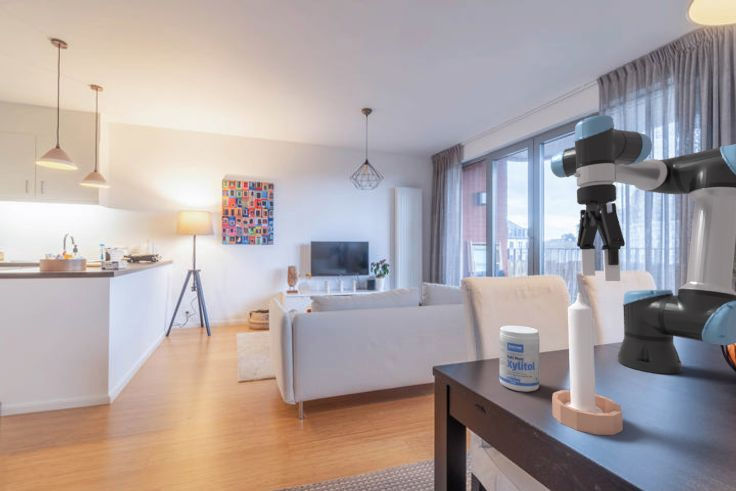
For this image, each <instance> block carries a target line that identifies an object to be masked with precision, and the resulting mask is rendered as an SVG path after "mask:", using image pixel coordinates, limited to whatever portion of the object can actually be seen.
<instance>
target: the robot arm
mask: <svg viewBox="0 0 736 491" xmlns="http://www.w3.org/2000/svg"><path fill="white" fill-rule="evenodd" d="M573 141H574V146H573V147H569V148H565V149H563V150H560V151H558V152H556V153H554V154H553V155H552V157H551V159H550V170H551V172H552V174H553V175H554V176H555V177H557V178H570V177H574V178H576V186H577V187H578V188H577V190H576V202H577V204H579V205H585V209H581V210H580V212H579V213H580V215H579V216H580V219H579V226H578V227H579V228H578V234H577V242H576V245H577V247H578V248H579V249H580V266H581V276H582V277H583V276H585V277H587V276H589V277H590V276H591V277H592V276H593V277H594V276H596V266H595V264H596V263H595V260H596V259H595V249H596V246H595V245H594V242H595V239H596V235H597V232H598V233H599V237H600V238H601V241H602V244H603V245H602V247H601V251H602V255H603V256H602V260H603V266H602V267H603V281H604V282H620V281H621V269H620V268H621V264H620V250H621V248H622V247H625V239H624V235H623V232H622V228H621V224H620V220H619V217H618V213H617V204H616V203H615V202H616V201H617V186H616V185H615V184H614V183H619V184H622V185H623V184H624V185H628V186H629V185H630V186H634V187H635V188H636V189H638V190H640V191H645V192H650V193H656V194H664V195H665V194H666V195H687V194H688V198H690V199H691V200H692V201H694V206H693V207H694V209H693V216H692V217H693V218H692V226H691V228H692V229H691V238H690V246H689V247H690V248H689V255H688V256H689V257H688V265H687V266H688V268H687V275H686V283H685V284H683V285H682V286H679V288H678V290H677V291H678V292H677V295H674V292H673V290H672V289H647V290H646V289H642V290H640V289H639V290H628V291H626V292H625V293H624V295H623V304H622V307H623V332H624V333H623V336H624V337H623V339H622V342H621V345H620V348H619V351H618V352H617V362H618V363H619V364H621V365H623V366H626V367H628V368H631V369H635V370H638V371H643V372H647V373H655V374H666V375H667V374H669V375H670V374H673V375H674V374H680V373H682V372H683V364H682V361H681V359H680V356H679V354H678V351H677V349H676V346H675V344H674V337H677V338H682V339H687V340H691V341H692V340H693V341H695V342H696V341H697V342H703V343H704V344H705V343H706V344H709V345H713V344H715V345H721V346H732V345H734V344H736V291H735V290H733V288H732V280H733V272H734V258H735V248H736V143H735V144H729V145H721V146H720V147H715V148H711V149H706V150H702V151H697V152H693V153H687V154H685V155H684V154H682V155H678V156H674V157H670V158H666V159H657V158H656V159H655V158H650V159H647V158H648V157H649V156H650V154H651V153H652V149H653V143H652V140H651V138H650V137H649V136H648V135H646V134H645V133H641V132H638V131H635V130H634V131H633V130H632V131H631V130H622V129H617V128H615V123H614V119H613V117H612V116H611V115H606V114H600V115H594V116H590V117H589V116H588V117H586V118H584V119H581V120H580V121H579V122H577V123H576V125H575V127H574V140H573Z"/></svg>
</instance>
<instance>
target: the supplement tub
mask: <svg viewBox="0 0 736 491" xmlns="http://www.w3.org/2000/svg"><path fill="white" fill-rule="evenodd" d="M499 329H500V330H499V367H498V368H499V373H498V375H499V377H498V378H499V379H498V380H499V382H500V384H501V385H502V386H503V387H505V388H507V389H510V390H513V391H517V392H528V393H529V392H534V391H537V390H538V389H539V387H540V332H539V330H538V329H537V328H532V327H530V326H529V327H528V326H523V325H503V326H501V327H500V328H499Z"/></svg>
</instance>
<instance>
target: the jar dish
mask: <svg viewBox="0 0 736 491" xmlns="http://www.w3.org/2000/svg"><path fill="white" fill-rule="evenodd" d="M551 398H552V399H551V400H552V401H551V402H552V403H551V407H552V408H551V409H552V410H551V412H552V414H551V415H552V416H553V417H554V419H556V421H558V422H559V423H560V424H561V425H564V426H567V427H568V428H571V429H574V430H575V431H579V432H582V433H588V434H592V435H593V434H594V435H597V436H598V435H599V436H601V435H603V436H604V435H606V436H615V435H616V434H619V433H620V432H623V431H624V430H623V429H624V428H623V424H624V422H623V410H622V406H621V405H620V404H618V402H615V401H613V400H612V399H611V398H609V397H605V396H603V395H599V394H596V393H595V398H596V407H598V408H600V409H601V410H602V411H603V413H592V412H587V411H582V410H577V409H575V408H572V407H570V406H567V405H565V403H567V402H571V397H570V389H566V390H565V389H561V390H558V391H555V392H553V393H552V396H551Z"/></svg>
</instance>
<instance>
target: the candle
mask: <svg viewBox="0 0 736 491" xmlns="http://www.w3.org/2000/svg"><path fill="white" fill-rule="evenodd" d="M593 317H594V316H593V308H591V307H590V306H589V305H588V304H586V303H585V302H584V299H583V296H582V293H581V292H577V296H576V300H575V302H574V303H572V304H571V305H569V306H567V320H568V321H567V324H568V326H567V327H568V355H569V356H568V357H569V386H570V387H569V390H570V397H571V402H567V403H565V405H567V406H570V407H572V408H575V409H577V410H582V411H587V412H592V413H603V411H602V410H601V409H600V408H598V407H596V398H595V394H596V378H595V377H596V376H595V375H596V374H595V372H596V371H595V370H596V369H595V349H594V348H595V347H594V346H595V343H594V321H593V319H594V318H593Z"/></svg>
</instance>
